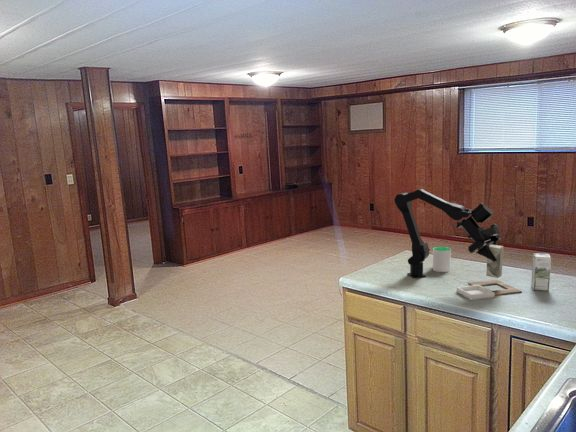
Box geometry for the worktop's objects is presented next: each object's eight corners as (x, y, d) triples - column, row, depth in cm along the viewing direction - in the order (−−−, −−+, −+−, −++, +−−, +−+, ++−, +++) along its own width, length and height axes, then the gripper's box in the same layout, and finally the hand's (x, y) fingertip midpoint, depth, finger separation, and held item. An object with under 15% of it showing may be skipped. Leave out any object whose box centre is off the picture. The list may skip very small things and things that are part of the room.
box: (485, 276, 193) (486, 246, 191) (489, 273, 196) (490, 244, 194) (499, 278, 189) (500, 248, 187) (502, 275, 193) (503, 245, 190)
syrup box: (546, 287, 193) (548, 253, 190) (549, 291, 187) (551, 256, 185) (531, 286, 195) (532, 252, 192) (533, 290, 189) (535, 256, 187)
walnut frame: (467, 284, 200) (467, 282, 200) (496, 281, 203) (496, 279, 202) (490, 296, 185) (490, 294, 184) (521, 292, 187) (521, 291, 187)
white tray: (456, 292, 190) (456, 287, 190) (479, 289, 192) (479, 284, 192) (470, 300, 181) (471, 295, 180) (494, 297, 182) (494, 292, 182)
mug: (428, 265, 231) (429, 245, 229) (445, 265, 230) (445, 244, 228) (435, 272, 219) (435, 251, 217) (452, 272, 218) (453, 250, 217)
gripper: (476, 221, 186) (502, 253, 179) (497, 215, 198) (523, 244, 191) (457, 237, 193) (482, 268, 186) (479, 230, 205) (502, 259, 198)
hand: (498, 259), depth 190 cm, fingers closed on box, 4 cm apart
